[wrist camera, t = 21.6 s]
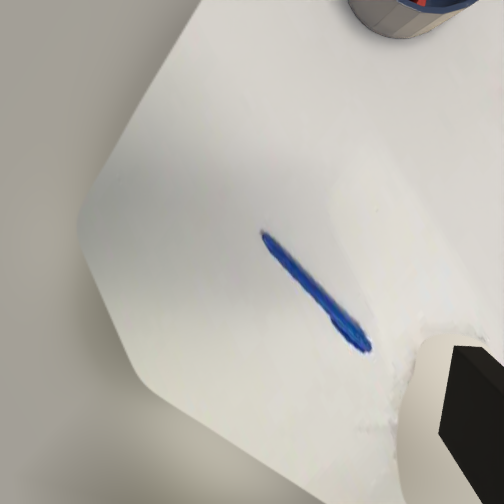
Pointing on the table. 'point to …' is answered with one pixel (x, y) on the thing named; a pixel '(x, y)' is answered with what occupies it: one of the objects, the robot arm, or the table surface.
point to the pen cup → (406, 15)
